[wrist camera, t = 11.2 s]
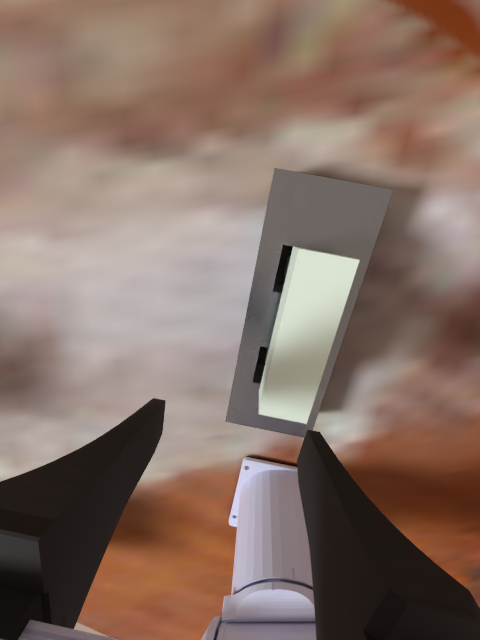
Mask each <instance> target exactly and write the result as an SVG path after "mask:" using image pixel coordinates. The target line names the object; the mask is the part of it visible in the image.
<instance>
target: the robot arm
mask: <svg viewBox="0 0 480 640" xmlns="http://www.w3.org/2000/svg"><path fill="white" fill-rule="evenodd" d="M164 411H165V400H160V399H155V398H153V399H152V400H150V401H149V402H148V403H147V404H145V405H144V406H143V407H142V408H140V409H139V410H138V411H136V412H135V413H134V414H132V415H131V416H130V417H128V418H127V419H126V420H124V421H123V422H121V423H120V424H119V425H117V426H116V427H114V428H113V429H111V430H110V431H108V432H107V433H105V434H104V435H102V436H100V437H99V438H97V439H96V440H94V441H92V442H90V443H89V444H87V445H85V446H83V447H82V448H80V449H78V450H76V451H74V452H72V453H70V454H68V455H66V456H63V457H61V458H59V459H57V460H55V461H53V462H51V463H48V464H46V465H44V466H41V467H39V468H37V469H34V470H31V471H29V472H26V473H24V474H21V475H19V476H16V477H13V478H10V479H7V480H4V481H1V482H0V640H119V639H115V638H110V637H106V636H101V635H97V634H92V633H87V632H83V631H79V630H74V627H75V624H76V622H77V619H78V617H79V614H80V612H81V609H82V607H83V604H84V602H85V599H86V597H87V594H88V592H89V589H90V587H91V584H92V582H93V580H94V577H95V575H96V572H97V570H98V568H99V565H100V563H101V560H102V558H103V556H104V553H105V551H106V549H107V546H108V544H109V542H110V539H111V537H112V535H113V532H114V530H115V528H116V526H117V523H118V521H119V519H120V517H121V514H122V512H123V510H124V508H125V506H126V504H127V502H128V500H129V498H130V496H131V494H132V492H133V491H134V489H135V487H136V485H137V483H138V482H139V480H140V478H141V476H142V474H143V472H144V471H145V469H146V467H147V465H148V463H149V461H150V460H151V458H152V456H153V454H154V452H155V450H156V447H157V445H158V442H159V440H160V437H161V435H162V431H163V421H164ZM246 466H248V467H246ZM229 524H230V525H231V526H234V527H237V534H236V546H235V558H234V570H233V581H232V593H231V595H226V596H224V601H223V611H222V616H216V617H214V618H213V619H212V621H211V622H210V624H209V626H208V628H207V630H206V631H205V633H204V635H203V637H202V640H480V608H479V606H478V605H477V603H476V601H475V599H474V598H473V596H472V595H471V593H470V591H469V590H468V589H466V588H465V587H464V586H463V585H461V584H460V583H459V582H458V581H456V580H455V579H454V578H453V577H451V576H450V575H449V574H448V573H446V572H445V571H444V570H443V569H441V568H440V567H439V566H438V565H437V564H435V563H434V562H433V561H432V560H431V559H430V558H428V557H427V556H426V555H425V554H424V553H423V552H422V551H421V550H419V549H418V548H417V547H416V546H415V545H414V544H413V543H412V542H411V541H410V540H408V539H407V538H406V537H405V536H404V535H403V534H402V533H401V532H400V531H399V530H398V529H397V528H396V527H395V526H394V525H393V524H392V523H391V522H390V521H389V520H388V519H387V518H386V517H385V516H384V515H383V514H382V513H381V512H380V511H379V509H378V508H377V507H376V506H375V505H374V504H373V503H372V502H371V501H370V499H369V498H368V497H367V496H366V495H365V494H364V492H363V491H362V490H361V489H360V487H359V486H358V485H357V484H356V482H355V481H354V480H353V479H352V477H351V476H350V475H349V473H348V472H347V471H346V469H345V468H344V467H343V465H342V464H341V463H340V461H339V460H338V458H337V457H336V455H335V454H334V453H333V451H332V450H331V448H330V447H329V445H328V444H327V442H326V441H325V439H324V438H323V436H322V435H321V433H320V432H316V431H311V430H307V432H306V435H305V438H304V441H303V444H302V447H301V450H300V454H299V457H298V460H297V467H294V466H289V465H284V464H279V463H274V462H269V461H264V460H259V459H255V458H250V457H246V458H244V459H243V462H242V466H241V470H240V475H239V479H238V483H237V487H236V492H235V496H234V500H233V504H232V508H231V513H230V517H229Z"/></svg>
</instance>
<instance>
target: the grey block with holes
mask: <svg viewBox="0 0 480 640" xmlns="http://www.w3.org/2000/svg"><path fill="white" fill-rule="evenodd" d="M392 193H393V189H387V188H382V187H376V186H371V185H365V184H360V183H354V182H349V181H343V180H338V179H332V178H327V177H321V176H316V175H310V174H305V173H299V172H294V171H288V170H283V169H277V168H275V169H274V175H273V180H272V185H271V190H270V195H269V200H268V205H267V211H266V216H265V221H264V226H263V231H262V236H261V241H260V247H259V252H258V257H257V262H256V267H255V272H254V277H253V283H252V288H251V293H250V298H249V303H248V308H247V313H246V319H245V324H244V329H243V334H242V339H241V344H240V349H239V355H238V360H237V365H236V370H235V375H234V380H233V385H232V391H231V396H230V401H229V406H228V411H227V416H226V421H225V422H230V423H235V424H240V425H245V426H250V427H255V428H260V429H265V430H270V431H275V432H280V433H284V434H289V435H294V436H299V437H304V438H305V435H306V432H307V430H311V431H312V430H313V427H314V424H315V421H316V418H317V415H318V412H319V409H320V406H321V404H322V401H323V398H324V395H325V392H326V389H327V386H328V383H329V380H330V377H331V374H332V371H333V368H334V365H335V362H336V359H337V356H338V353H339V350H340V347H341V344H342V341H343V338H344V335H345V332H346V329H347V326H348V323H349V320H350V317H351V315H352V312H353V309H354V306H355V303H356V300H357V297H358V294H359V291H360V288H361V285H362V282H363V279H364V276H365V273H366V270H367V267H368V264H369V261H370V258H371V255H372V252H373V249H374V246H375V243H376V240H377V237H378V234H379V231H380V228H381V226H382V223H383V220H384V217H385V214H386V211H387V208H388V205H389V202H390V199H391V196H392ZM283 245H287V246H292V247H293V246H294V247H300V248H305V249H310V250H316V251H321V252H326V253H332V254H337V255H342V256H347V257H351V258H354V259H358V260H360V261H359V264H358V267H357V270H356V273H355V276H354V279H353V282H352V285H351V289H350V292H349V295H348V298H347V301H346V304H345V307H344V310H343V313H342V316H341V319H340V323H339V326H338V329H337V332H336V335H335V338H334V341H333V344H332V347H331V350H330V353H329V356H328V360H327V363H326V366H325V369H324V372H323V375H322V378H321V381H320V384H319V387H318V390H317V394H316V397H315V400H314V403H313V406H312V409H311V412H310V415H309V418H308V421H307V424H304V423H299V422H294V421H290V420H285V419H280V418H275V417H270V416H265V415H260V414H259V389H260V384H261V380H262V376H263V372H264V367H265V365H260V364H256V363H257V359H258V354H259V350H260V346H262V347H267V348H269V346H270V342H271V338H272V333H273V329H274V325H275V321H276V316H277V312H278V308H279V304H280V299H281V295H282V291H283V287H284V286H282V285H277V284H274V283H275V278H276V274H277V269H278V265H279V260H280V256H281V251H282V247H283Z"/></svg>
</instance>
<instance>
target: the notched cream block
mask: <svg viewBox="0 0 480 640" xmlns="http://www.w3.org/2000/svg"><path fill="white" fill-rule="evenodd" d="M359 261H360V260H358V259H354V258H351V257H347V256H342V255H337V254H332V253H326V252H321V251H316V250H310V249H305V248H300V247H294V246H293V249H292V253H291V256H288V259H287V263H286V267H285V272H284V276H285V277H286V278H285V283H284V287H283V291H282V295H281V299H280V304H279V308H278V312H277V316H276V321H275V325H274V329H273V333H272V338H271V342H270V346H269V348H267V349H266V353H265V367H264V372H263V376H262V380H261V384H260V389H259V414H260V415H265V416H270V417H275V418H280V419H285V420H290V421H294V422H299V423H304V424H307V421H308V418H309V415H310V412H311V409H312V406H313V403H314V400H315V397H316V394H317V390H318V387H319V384H320V381H321V378H322V375H323V372H324V369H325V366H326V363H327V360H328V356H329V353H330V350H331V347H332V344H333V341H334V338H335V335H336V332H337V329H338V326H339V323H340V319H341V316H342V313H343V310H344V307H345V304H346V301H347V298H348V295H349V292H350V289H351V285H352V282H353V279H354V276H355V273H356V270H357V267H358V264H359Z"/></svg>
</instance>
